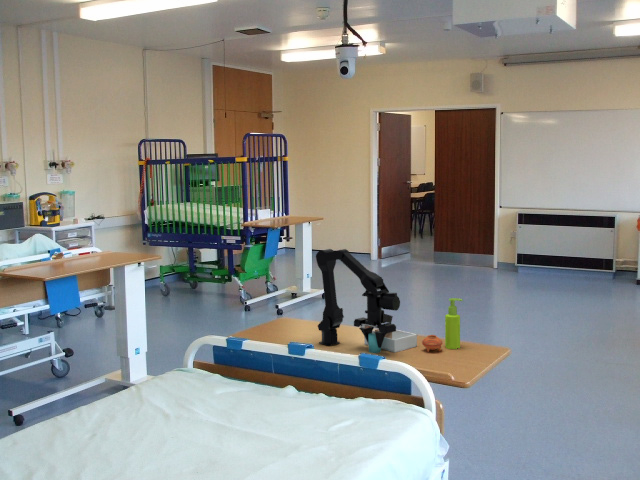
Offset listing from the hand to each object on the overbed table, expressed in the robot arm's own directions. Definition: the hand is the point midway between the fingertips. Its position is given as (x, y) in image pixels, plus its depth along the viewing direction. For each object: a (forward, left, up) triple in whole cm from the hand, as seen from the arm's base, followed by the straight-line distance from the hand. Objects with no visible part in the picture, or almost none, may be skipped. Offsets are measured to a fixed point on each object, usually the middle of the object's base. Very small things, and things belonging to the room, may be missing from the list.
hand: (374, 346), depth 257 cm
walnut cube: (-6, +11, -1) cm, 13 cm away
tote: (-2, +11, -2) cm, 11 cm away
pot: (+15, +17, -2) cm, 23 cm away
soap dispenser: (+18, +27, -2) cm, 33 cm away
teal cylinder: (0, 0, -2) cm, 2 cm away
